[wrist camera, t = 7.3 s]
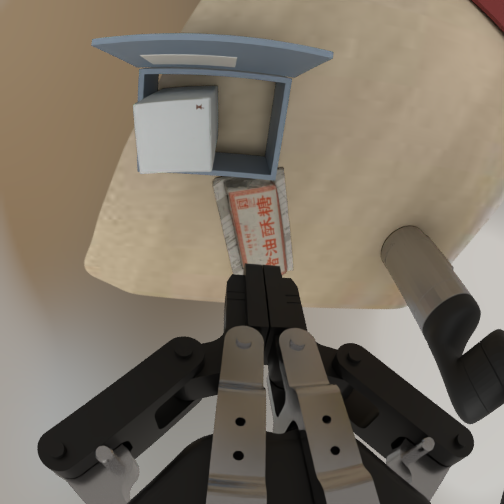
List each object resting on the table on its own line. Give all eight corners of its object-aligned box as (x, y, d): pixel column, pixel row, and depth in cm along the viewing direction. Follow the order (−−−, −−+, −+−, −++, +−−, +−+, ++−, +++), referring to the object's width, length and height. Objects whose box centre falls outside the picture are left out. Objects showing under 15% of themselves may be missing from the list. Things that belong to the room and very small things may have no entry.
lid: (294, 78, 28) (295, 73, 28) (332, 59, 17) (333, 51, 17) (137, 67, 26) (137, 63, 26) (91, 46, 15) (92, 39, 15)
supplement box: (160, 87, 34) (131, 101, 24) (219, 84, 35) (213, 96, 24) (163, 140, 38) (137, 175, 28) (218, 139, 39) (213, 173, 29)
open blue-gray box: (281, 75, 34) (292, 78, 28) (268, 161, 41) (275, 180, 35) (154, 66, 32) (139, 69, 27) (151, 153, 39) (137, 171, 33)
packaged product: (209, 190, 38) (288, 178, 38) (211, 176, 42) (282, 165, 42) (234, 295, 49) (297, 285, 49) (234, 275, 53) (292, 266, 52)
